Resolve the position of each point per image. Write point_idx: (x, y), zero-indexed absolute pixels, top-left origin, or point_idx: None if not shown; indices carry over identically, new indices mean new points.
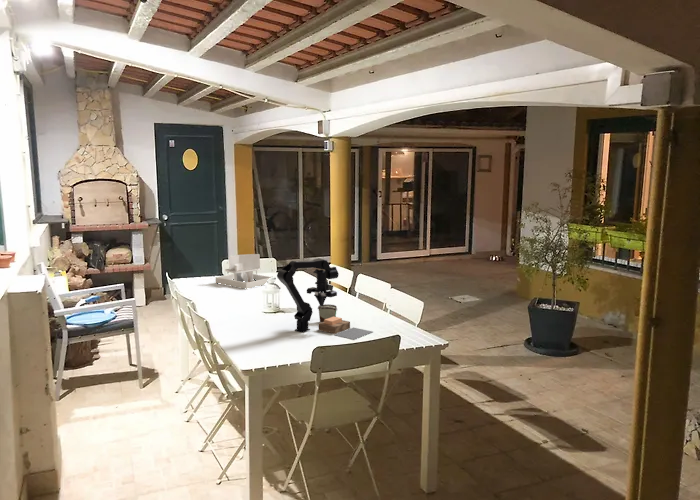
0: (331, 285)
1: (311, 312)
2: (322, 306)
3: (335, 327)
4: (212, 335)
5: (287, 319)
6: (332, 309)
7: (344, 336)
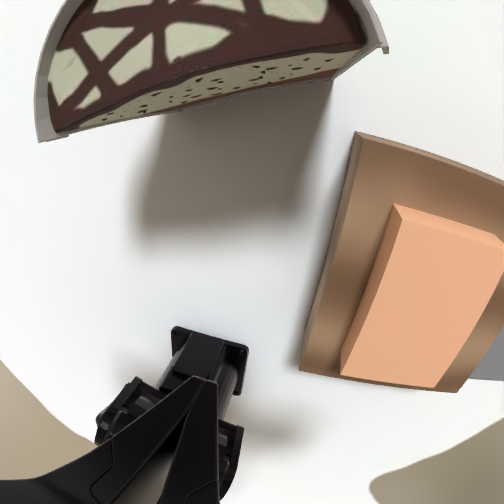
0: None
1: (232, 478)
2: (217, 386)
3: (458, 385)
4: (57, 419)
5: (6, 190)
6: (293, 56)
7: (501, 374)
